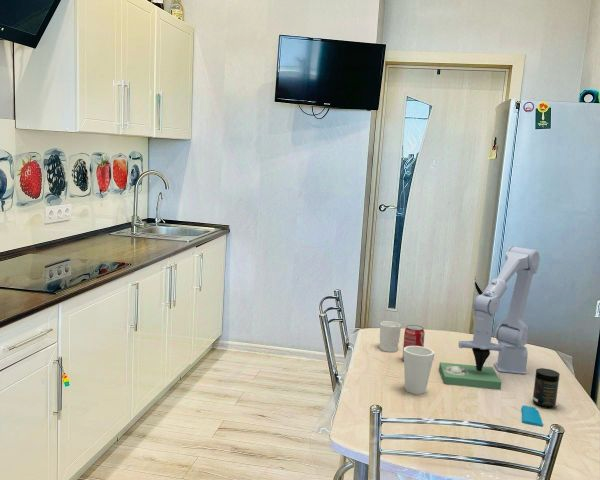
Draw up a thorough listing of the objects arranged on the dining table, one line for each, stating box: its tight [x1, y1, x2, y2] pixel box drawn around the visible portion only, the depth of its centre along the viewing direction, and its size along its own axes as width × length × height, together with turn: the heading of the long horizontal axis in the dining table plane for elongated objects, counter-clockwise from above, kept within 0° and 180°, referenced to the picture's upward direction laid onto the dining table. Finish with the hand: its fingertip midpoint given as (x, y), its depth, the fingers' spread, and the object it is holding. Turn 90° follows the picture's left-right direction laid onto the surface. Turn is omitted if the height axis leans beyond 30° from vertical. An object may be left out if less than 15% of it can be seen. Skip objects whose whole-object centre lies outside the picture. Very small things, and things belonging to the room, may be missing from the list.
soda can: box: [402, 324, 426, 361], centre depth 211 cm, size 7×7×13 cm
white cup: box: [379, 320, 402, 353], centre depth 224 cm, size 8×8×10 cm
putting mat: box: [438, 361, 502, 391], centre depth 198 cm, size 18×14×2 cm
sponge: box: [520, 405, 544, 427], centre depth 171 cm, size 2×12×6 cm
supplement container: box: [532, 367, 561, 410], centre depth 180 cm, size 7×7×10 cm
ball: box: [450, 366, 462, 373], centre depth 198 cm, size 4×4×4 cm
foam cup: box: [402, 346, 435, 395], centre depth 185 cm, size 10×9×13 cm
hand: (478, 370), depth 198 cm, fingers closed
